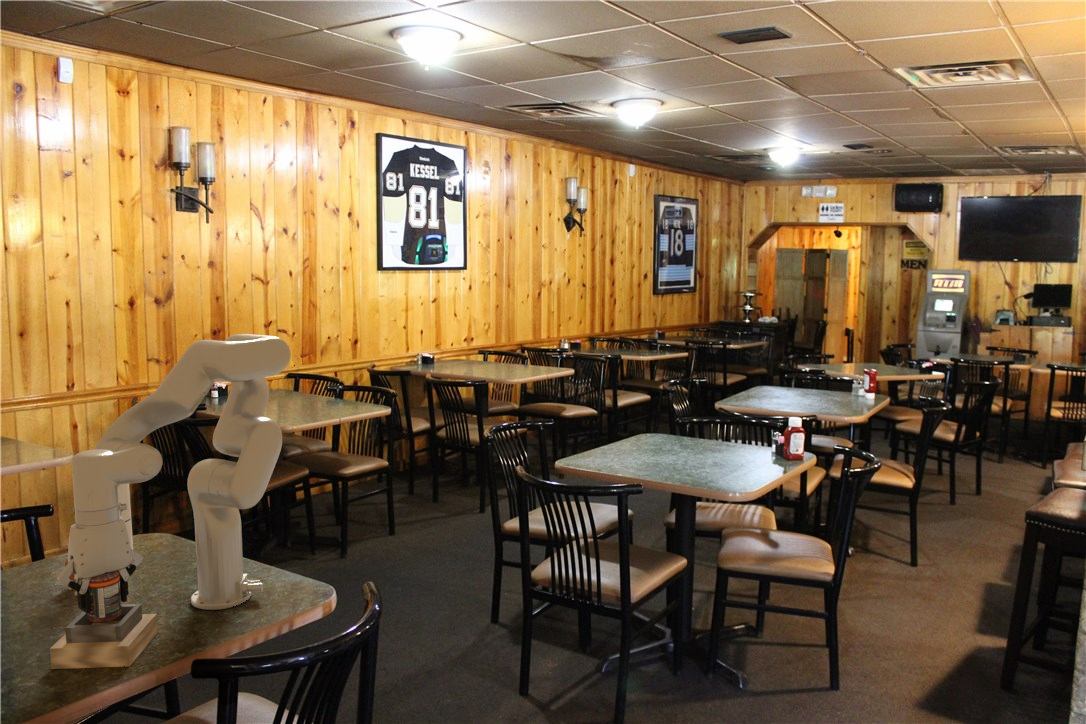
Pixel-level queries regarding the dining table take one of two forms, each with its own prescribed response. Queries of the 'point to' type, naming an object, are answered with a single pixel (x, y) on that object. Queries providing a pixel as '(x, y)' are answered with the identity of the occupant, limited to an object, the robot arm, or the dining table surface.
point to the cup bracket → (104, 640)
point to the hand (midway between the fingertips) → (104, 604)
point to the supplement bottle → (105, 597)
